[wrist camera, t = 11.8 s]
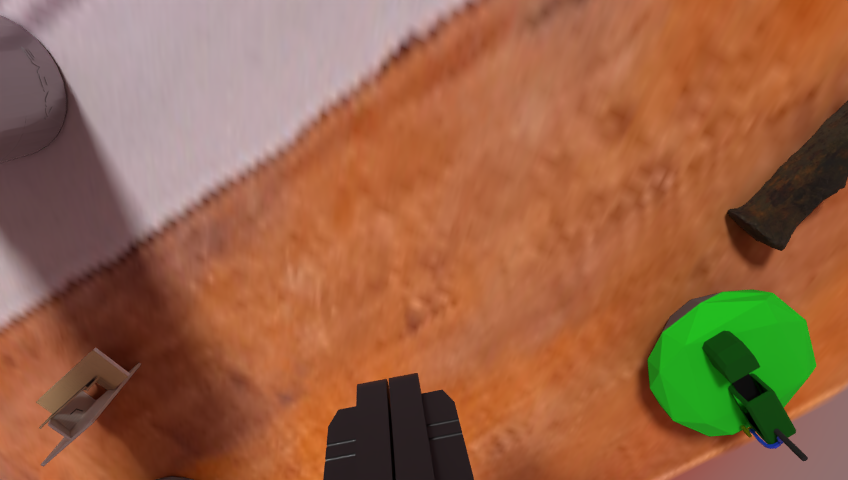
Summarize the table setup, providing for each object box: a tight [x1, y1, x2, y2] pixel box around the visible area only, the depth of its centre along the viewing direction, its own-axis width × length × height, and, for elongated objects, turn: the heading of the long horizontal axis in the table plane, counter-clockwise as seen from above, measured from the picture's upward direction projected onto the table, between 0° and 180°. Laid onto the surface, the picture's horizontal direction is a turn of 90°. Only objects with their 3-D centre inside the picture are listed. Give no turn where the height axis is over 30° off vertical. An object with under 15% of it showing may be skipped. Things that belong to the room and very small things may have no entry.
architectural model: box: [36, 347, 141, 466], centre depth 38 cm, size 3×7×7 cm, turn 131°
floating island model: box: [648, 290, 816, 461], centre depth 37 cm, size 12×12×11 cm
